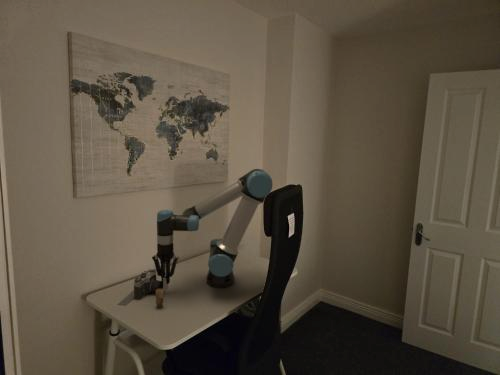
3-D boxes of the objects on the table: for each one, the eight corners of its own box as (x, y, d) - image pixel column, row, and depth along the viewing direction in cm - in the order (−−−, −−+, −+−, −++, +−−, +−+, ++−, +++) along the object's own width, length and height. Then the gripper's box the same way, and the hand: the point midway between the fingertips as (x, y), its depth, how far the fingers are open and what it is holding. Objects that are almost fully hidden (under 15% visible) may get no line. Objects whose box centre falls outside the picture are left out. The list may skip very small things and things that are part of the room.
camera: (151, 302, 151) (151, 281, 150) (132, 298, 153) (131, 278, 152) (167, 287, 166) (167, 268, 165) (149, 284, 168) (149, 266, 167)
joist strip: (143, 288, 164) (143, 288, 164) (125, 305, 147) (125, 305, 147) (136, 288, 164) (136, 287, 164) (117, 304, 148) (117, 304, 148)
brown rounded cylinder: (164, 305, 148) (164, 289, 147) (161, 309, 145) (161, 292, 144) (157, 304, 149) (157, 288, 147) (154, 308, 145) (154, 291, 144)
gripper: (181, 241, 159) (181, 287, 162) (155, 239, 161) (156, 285, 164) (175, 246, 152) (175, 294, 155) (149, 244, 154) (149, 291, 157)
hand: (165, 289), depth 160 cm, fingers closed
